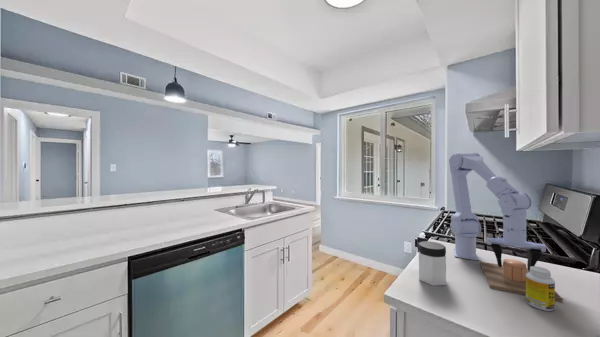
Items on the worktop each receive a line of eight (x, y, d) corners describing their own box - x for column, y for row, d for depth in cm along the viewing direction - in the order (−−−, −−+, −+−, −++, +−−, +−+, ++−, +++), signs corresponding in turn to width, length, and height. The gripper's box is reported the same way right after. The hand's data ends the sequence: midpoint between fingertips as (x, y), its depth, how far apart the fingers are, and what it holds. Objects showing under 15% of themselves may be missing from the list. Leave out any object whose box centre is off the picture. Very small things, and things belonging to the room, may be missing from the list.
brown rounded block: (501, 271, 81) (501, 257, 81) (522, 275, 79) (523, 261, 78) (505, 278, 77) (505, 263, 76) (528, 282, 74) (528, 267, 74)
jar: (447, 289, 73) (447, 251, 73) (418, 283, 77) (418, 247, 77) (445, 276, 81) (444, 242, 80) (419, 271, 85) (418, 239, 84)
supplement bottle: (552, 314, 60) (552, 276, 60) (523, 304, 64) (523, 268, 64) (556, 307, 63) (557, 270, 63) (528, 297, 68) (528, 263, 67)
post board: (479, 263, 90) (479, 252, 90) (536, 273, 82) (536, 260, 82) (490, 287, 73) (490, 273, 73) (562, 302, 65) (562, 286, 65)
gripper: (489, 228, 78) (489, 268, 78) (549, 234, 70) (549, 278, 70) (485, 223, 84) (485, 260, 84) (540, 229, 76) (540, 269, 76)
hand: (514, 268), depth 78 cm, fingers open, 7 cm apart
